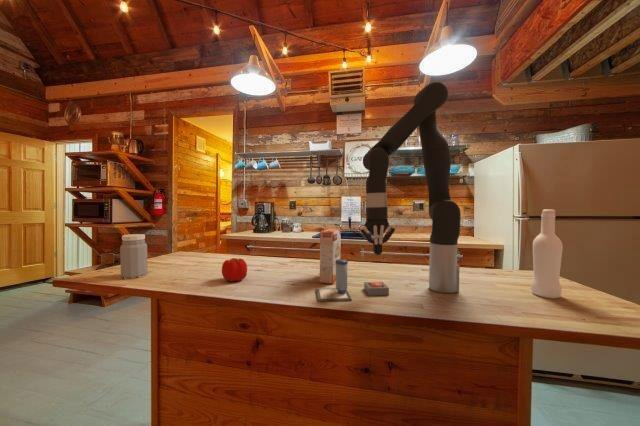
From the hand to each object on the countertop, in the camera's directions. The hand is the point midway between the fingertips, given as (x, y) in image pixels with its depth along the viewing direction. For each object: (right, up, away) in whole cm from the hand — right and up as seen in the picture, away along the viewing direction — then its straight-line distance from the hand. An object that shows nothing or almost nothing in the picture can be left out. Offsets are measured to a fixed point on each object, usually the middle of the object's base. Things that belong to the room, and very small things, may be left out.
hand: (377, 254), depth 93 cm
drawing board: (-16, -14, -3) cm, 21 cm away
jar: (-102, -13, +21) cm, 104 cm away
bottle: (+59, -14, -2) cm, 60 cm away
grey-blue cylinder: (-13, -13, -2) cm, 19 cm away
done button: (0, -13, +1) cm, 13 cm away
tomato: (-56, -13, +15) cm, 60 cm away
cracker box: (-16, -13, +17) cm, 27 cm away
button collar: (0, -14, +1) cm, 14 cm away
